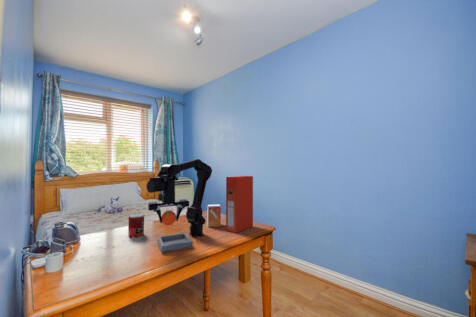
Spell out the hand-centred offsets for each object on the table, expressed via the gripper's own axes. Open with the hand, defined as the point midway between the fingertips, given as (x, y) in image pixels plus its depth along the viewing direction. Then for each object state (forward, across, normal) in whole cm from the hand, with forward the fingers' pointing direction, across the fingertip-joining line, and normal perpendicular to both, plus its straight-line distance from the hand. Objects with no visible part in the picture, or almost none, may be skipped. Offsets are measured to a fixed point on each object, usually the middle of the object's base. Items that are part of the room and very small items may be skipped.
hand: (169, 222), depth 104 cm
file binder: (+12, -43, -9) cm, 46 cm away
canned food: (+11, +14, -22) cm, 29 cm away
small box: (+12, -31, -21) cm, 39 cm away
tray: (+11, -2, +1) cm, 12 cm away
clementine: (+2, 0, 0) cm, 2 cm away
